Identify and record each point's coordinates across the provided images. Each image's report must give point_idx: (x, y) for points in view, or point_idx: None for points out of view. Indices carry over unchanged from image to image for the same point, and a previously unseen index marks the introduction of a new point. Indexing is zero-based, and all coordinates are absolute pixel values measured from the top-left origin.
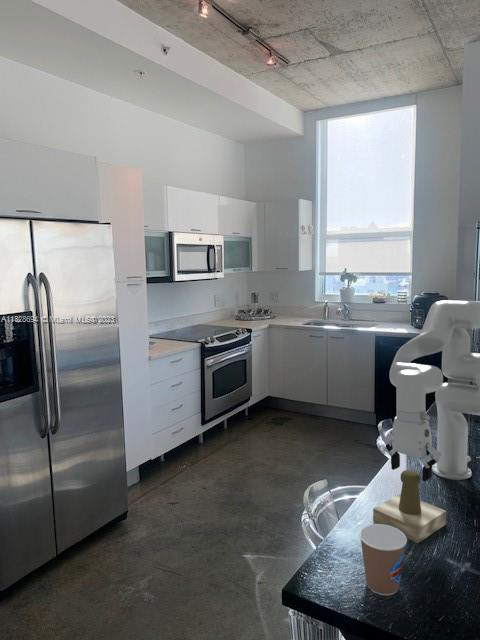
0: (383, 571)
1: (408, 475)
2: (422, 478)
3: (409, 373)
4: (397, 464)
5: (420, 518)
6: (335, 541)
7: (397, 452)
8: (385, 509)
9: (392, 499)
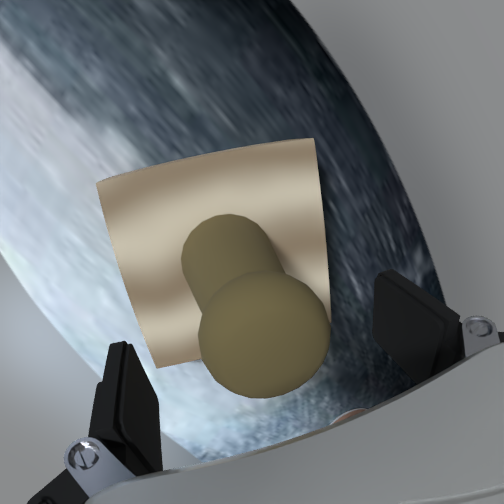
0: None
1: (294, 387)
2: (378, 343)
3: None
4: (142, 386)
5: (297, 272)
6: (198, 444)
7: (125, 466)
8: (182, 339)
9: (125, 264)
